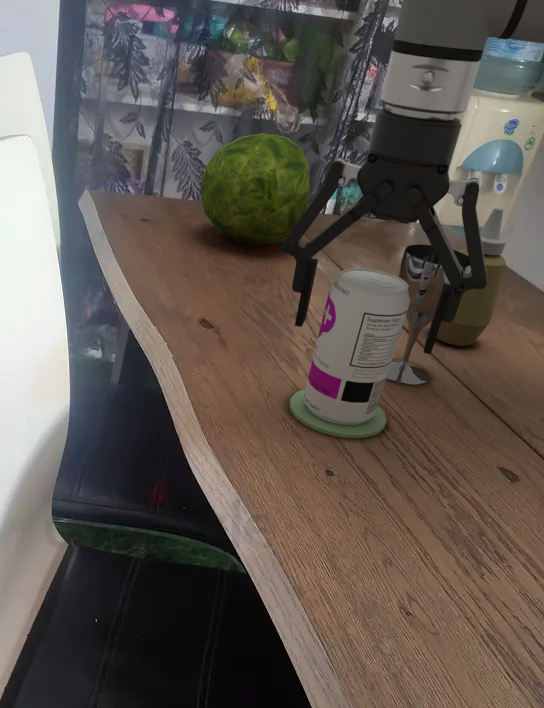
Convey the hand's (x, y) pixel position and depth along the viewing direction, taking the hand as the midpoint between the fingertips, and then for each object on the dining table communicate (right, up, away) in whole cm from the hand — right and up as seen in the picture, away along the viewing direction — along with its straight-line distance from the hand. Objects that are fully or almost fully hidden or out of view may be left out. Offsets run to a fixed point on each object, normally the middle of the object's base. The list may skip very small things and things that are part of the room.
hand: (362, 335), depth 78 cm
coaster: (-1, -8, +6) cm, 10 cm away
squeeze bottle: (+21, +6, +28) cm, 35 cm away
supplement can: (-1, -7, +6) cm, 9 cm away
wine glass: (+10, -1, +17) cm, 19 cm away
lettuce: (-5, +32, +58) cm, 66 cm away
